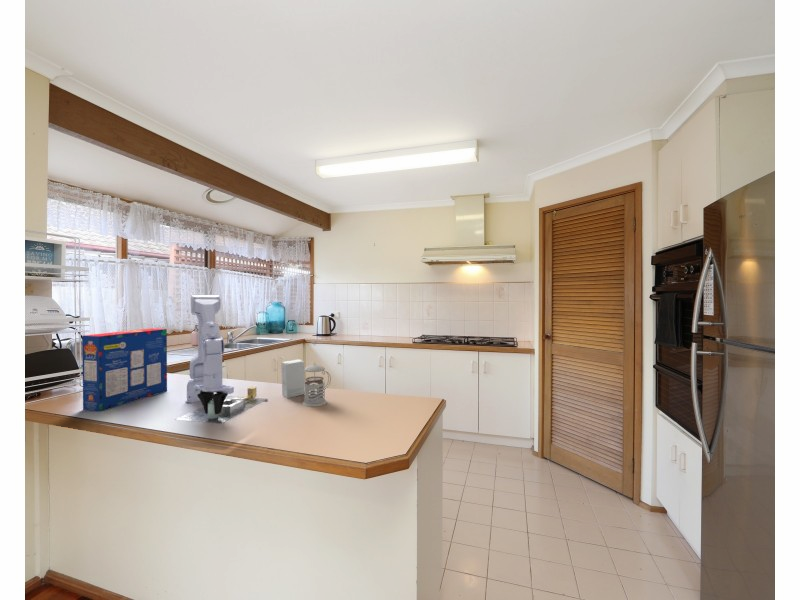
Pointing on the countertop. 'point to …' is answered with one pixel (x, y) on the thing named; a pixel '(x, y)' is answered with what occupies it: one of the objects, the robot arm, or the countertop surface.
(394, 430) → the countertop surface
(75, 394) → the countertop surface
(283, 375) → the skincare box
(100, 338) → the blue flat upright box
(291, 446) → the countertop surface
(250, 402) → the dock
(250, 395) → the pin
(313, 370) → the french press
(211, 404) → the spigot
